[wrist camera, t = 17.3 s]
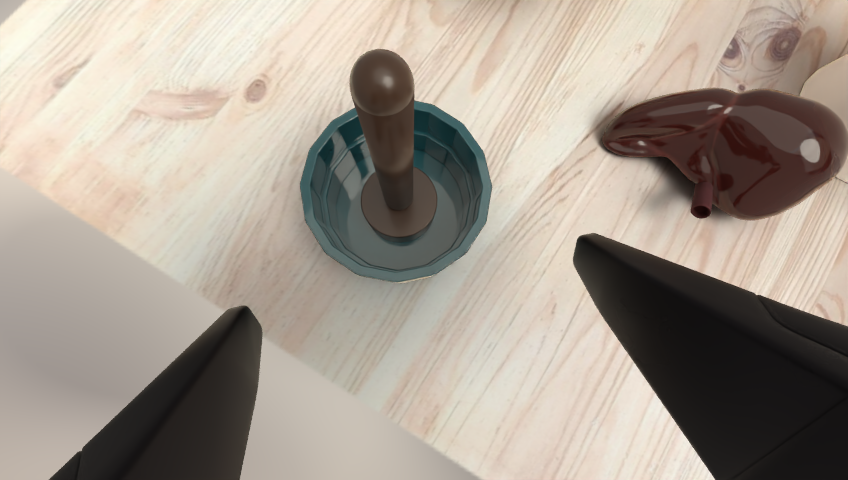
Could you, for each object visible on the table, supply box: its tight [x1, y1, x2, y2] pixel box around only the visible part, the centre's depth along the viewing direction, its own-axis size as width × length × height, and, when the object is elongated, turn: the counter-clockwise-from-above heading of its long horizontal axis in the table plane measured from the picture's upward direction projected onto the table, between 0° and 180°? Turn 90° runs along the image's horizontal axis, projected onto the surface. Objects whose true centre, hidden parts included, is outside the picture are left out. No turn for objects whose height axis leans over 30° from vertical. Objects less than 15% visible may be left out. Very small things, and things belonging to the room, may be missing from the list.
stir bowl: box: [300, 101, 492, 284], centre depth 18 cm, size 9×9×5 cm
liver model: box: [602, 88, 848, 220], centre depth 20 cm, size 6×12×11 cm
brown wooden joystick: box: [350, 49, 437, 242], centre depth 13 cm, size 4×4×13 cm
